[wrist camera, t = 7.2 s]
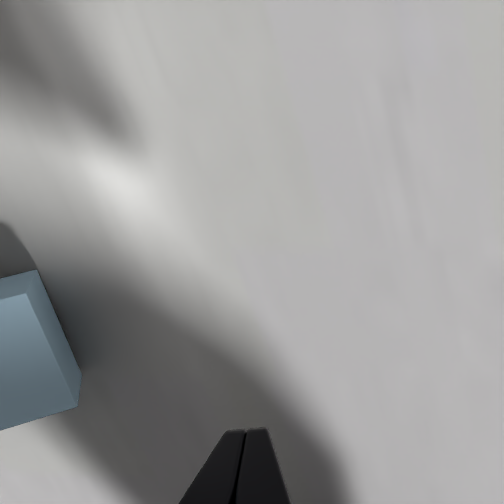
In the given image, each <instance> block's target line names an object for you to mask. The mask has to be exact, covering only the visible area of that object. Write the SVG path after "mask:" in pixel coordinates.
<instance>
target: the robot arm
mask: <svg viewBox="0 0 504 504" xmlns="http://www.w3.org/2000/svg"><path fill="white" fill-rule="evenodd" d="M179 504H292V503H291V500H290V497H289V494H288V490H287V487H286V484H285V481H284V478H283V474H282V471H281V468H280V465H279V462H278V459H277V455H276V452H275V449H274V446H273V443H272V439H271V436H270V433H269V430H268V429H267V428H266V427H260V428H250V429H248V431H247V430H245V429H236V430H228V431H226V432H225V433H224V435H223V436H222V438H221V439H220V441H219V442H218V444H217V445H216V447H215V449H214V450H213V452H212V453H211V455H210V456H209V458H208V459H207V461H206V462H205V464H204V465H203V467H202V469H201V470H200V472H199V473H198V475H197V476H196V478H195V479H194V481H193V482H192V484H191V486H190V487H189V489H188V490H187V492H186V493H185V495H184V496H183V498H182V499H181V501H180V503H179Z"/></svg>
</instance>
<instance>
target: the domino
mask: <svg viewBox="0 0 504 504" xmlns="http://www.w3.org/2000/svg"><path fill="white" fill-rule="evenodd" d="M81 379H82V374H81V372H80V369H79V367H78V365H77V362H76V360H75V358H74V355H73V353H72V351H71V348H70V346H69V344H68V341H67V339H66V337H65V334H64V332H63V330H62V327H61V325H60V323H59V320H58V318H57V316H56V313H55V311H54V309H53V306H52V304H51V302H50V299H49V297H48V295H47V292H46V290H45V288H44V285H43V283H42V281H41V278H40V276H39V274H38V271H37V270H33V271H29V272H25V273H20V274H16V275H12V276H8V277H4V278H0V430H4V429H7V428H10V427H13V426H17V425H20V424H23V423H26V422H30V421H33V420H36V419H39V418H43V417H46V416H49V415H52V414H56V413H59V412H62V411H65V410H69V409H72V408H75V407H78V400H79V393H80V386H81Z"/></svg>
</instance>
